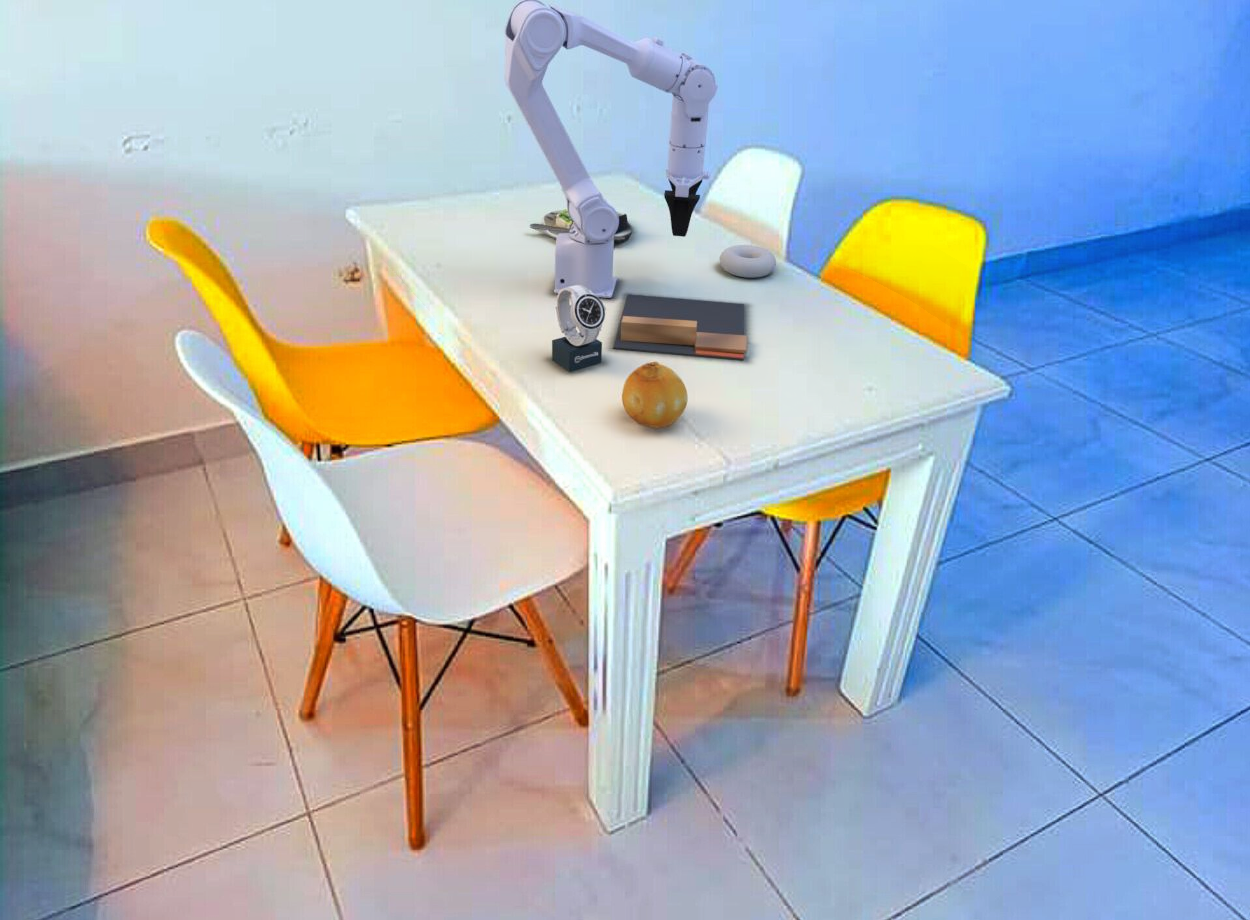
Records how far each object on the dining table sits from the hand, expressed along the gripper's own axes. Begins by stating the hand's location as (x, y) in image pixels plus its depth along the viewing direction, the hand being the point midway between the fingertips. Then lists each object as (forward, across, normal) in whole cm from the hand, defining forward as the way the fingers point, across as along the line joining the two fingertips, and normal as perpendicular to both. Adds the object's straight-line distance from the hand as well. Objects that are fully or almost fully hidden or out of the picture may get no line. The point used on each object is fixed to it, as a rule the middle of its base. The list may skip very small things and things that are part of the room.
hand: (680, 227), depth 151 cm
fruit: (+10, -47, 0) cm, 48 cm away
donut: (+10, +8, -12) cm, 17 cm away
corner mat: (+9, -18, -2) cm, 20 cm away
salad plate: (+10, +21, +18) cm, 29 cm away
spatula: (+9, -24, -2) cm, 26 cm away
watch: (+10, -33, +12) cm, 36 cm away
